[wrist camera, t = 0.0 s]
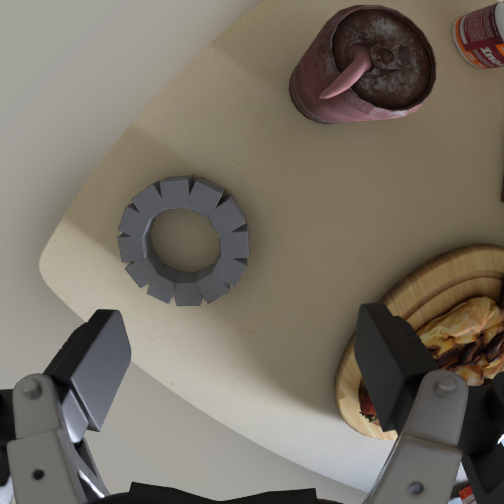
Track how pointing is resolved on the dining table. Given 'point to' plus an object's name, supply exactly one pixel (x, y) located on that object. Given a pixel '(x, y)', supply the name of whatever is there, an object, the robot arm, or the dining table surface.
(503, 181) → the peg stand
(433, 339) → the wooden plate
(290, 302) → the dining table surface
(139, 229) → the gear
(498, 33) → the pill bottle
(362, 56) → the can
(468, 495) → the medicine box
